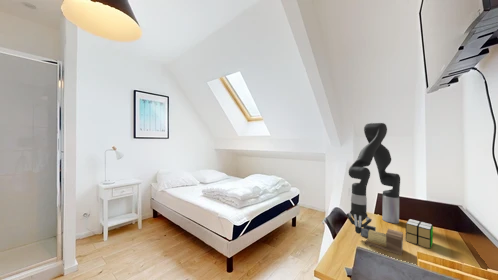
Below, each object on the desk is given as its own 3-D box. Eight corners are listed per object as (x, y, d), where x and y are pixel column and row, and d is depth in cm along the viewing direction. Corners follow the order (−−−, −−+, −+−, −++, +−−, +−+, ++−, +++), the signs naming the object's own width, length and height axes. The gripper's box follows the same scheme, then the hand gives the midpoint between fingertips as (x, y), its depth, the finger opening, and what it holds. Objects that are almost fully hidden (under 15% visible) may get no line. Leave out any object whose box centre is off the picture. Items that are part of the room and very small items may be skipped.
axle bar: (369, 238, 103) (369, 229, 103) (402, 248, 94) (402, 238, 94) (368, 241, 100) (368, 231, 101) (401, 252, 91) (401, 241, 91)
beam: (368, 238, 105) (368, 223, 105) (402, 249, 95) (402, 232, 95) (365, 243, 100) (365, 227, 100) (401, 255, 90) (401, 237, 90)
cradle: (363, 230, 115) (364, 224, 115) (375, 234, 111) (375, 227, 111) (360, 235, 109) (360, 228, 109) (372, 239, 105) (372, 232, 105)
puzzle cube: (408, 235, 110) (409, 218, 110) (432, 242, 103) (432, 224, 103) (405, 241, 104) (405, 223, 104) (430, 249, 96) (430, 229, 96)
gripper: (373, 203, 104) (373, 234, 104) (347, 198, 113) (347, 227, 113) (371, 206, 98) (370, 239, 98) (344, 200, 107) (343, 231, 107)
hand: (358, 233), depth 106 cm, fingers closed
